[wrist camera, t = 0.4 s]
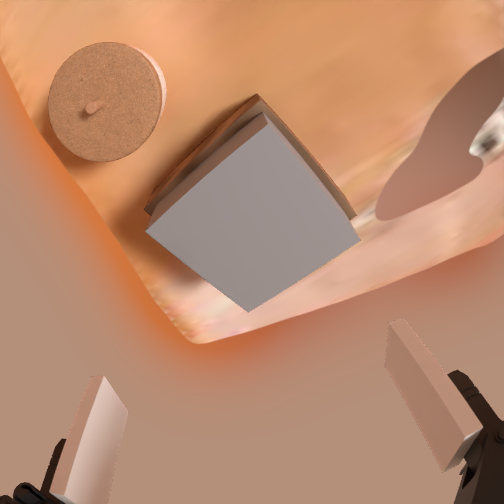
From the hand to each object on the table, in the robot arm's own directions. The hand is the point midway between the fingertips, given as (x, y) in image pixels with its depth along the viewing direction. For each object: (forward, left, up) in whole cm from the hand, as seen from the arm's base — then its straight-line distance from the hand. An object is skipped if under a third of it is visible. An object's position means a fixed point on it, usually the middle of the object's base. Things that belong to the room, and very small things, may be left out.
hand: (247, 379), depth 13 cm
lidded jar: (+2, -14, -26) cm, 30 cm away
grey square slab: (+1, +3, -21) cm, 21 cm away
